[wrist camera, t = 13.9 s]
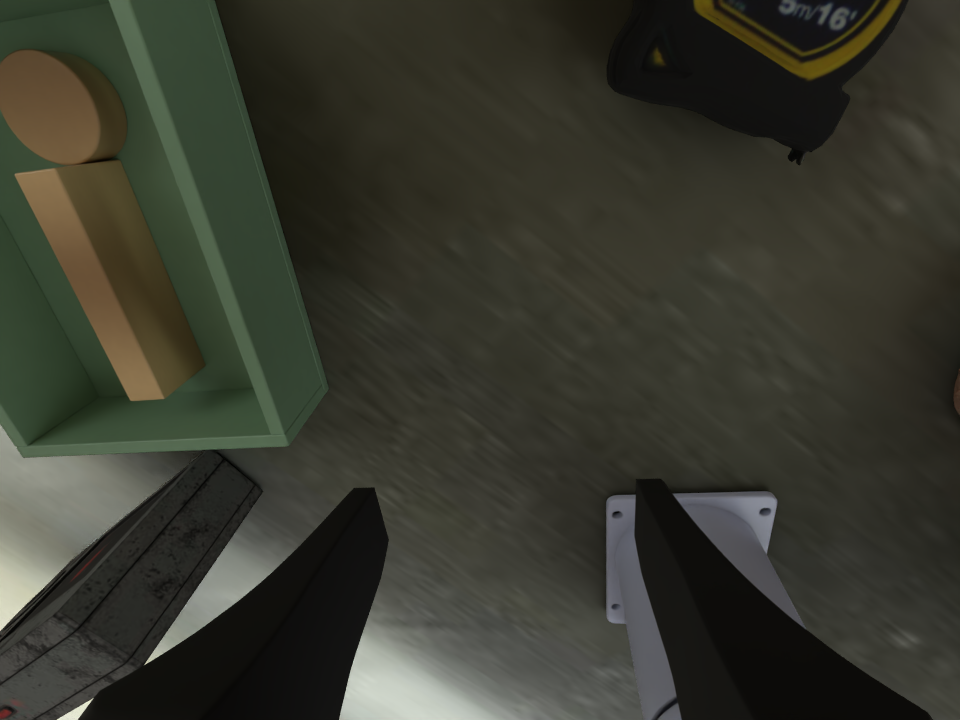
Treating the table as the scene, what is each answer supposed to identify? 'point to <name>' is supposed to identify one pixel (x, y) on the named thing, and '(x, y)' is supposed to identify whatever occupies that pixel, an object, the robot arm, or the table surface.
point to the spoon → (97, 217)
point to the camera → (120, 593)
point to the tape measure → (752, 61)
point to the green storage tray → (178, 237)
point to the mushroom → (957, 394)
